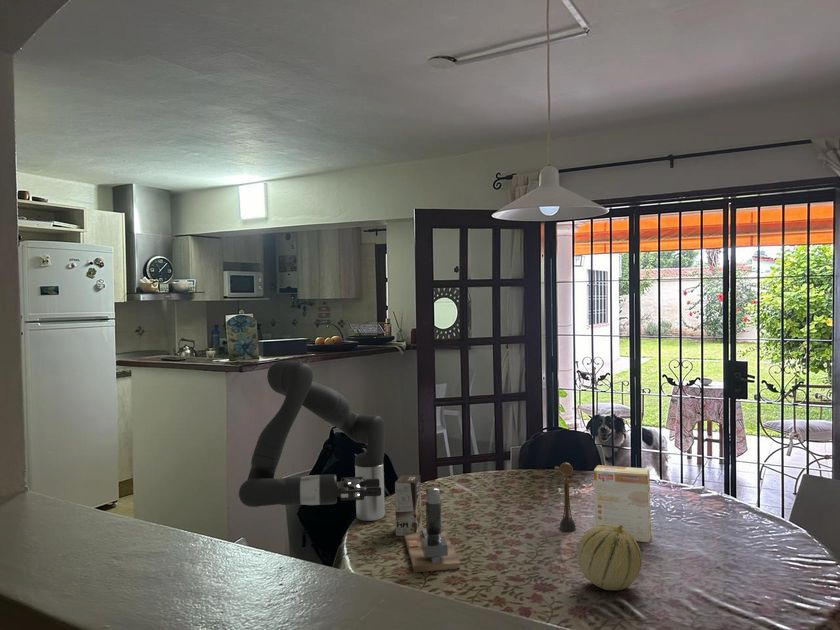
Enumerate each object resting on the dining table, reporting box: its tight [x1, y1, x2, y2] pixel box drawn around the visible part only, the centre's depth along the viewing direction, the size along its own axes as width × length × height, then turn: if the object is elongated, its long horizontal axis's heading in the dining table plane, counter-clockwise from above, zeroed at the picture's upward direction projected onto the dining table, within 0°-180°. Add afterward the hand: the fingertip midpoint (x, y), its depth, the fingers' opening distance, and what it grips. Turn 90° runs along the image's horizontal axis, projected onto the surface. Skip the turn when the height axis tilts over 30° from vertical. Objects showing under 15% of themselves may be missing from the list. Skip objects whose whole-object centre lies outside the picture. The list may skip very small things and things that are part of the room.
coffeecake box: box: [593, 464, 652, 543], centre depth 181 cm, size 15×7×20 cm, turn 65°
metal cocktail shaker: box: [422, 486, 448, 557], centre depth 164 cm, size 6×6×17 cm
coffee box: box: [394, 474, 423, 537], centre depth 189 cm, size 9×6×16 cm
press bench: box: [404, 527, 461, 573], centre depth 172 cm, size 24×12×3 cm, turn 7°
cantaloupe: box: [576, 524, 643, 591], centre depth 148 cm, size 15×15×15 cm
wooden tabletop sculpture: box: [554, 462, 577, 532], centre depth 188 cm, size 6×5×20 cm
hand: (380, 486), depth 166 cm, fingers open, 8 cm apart
